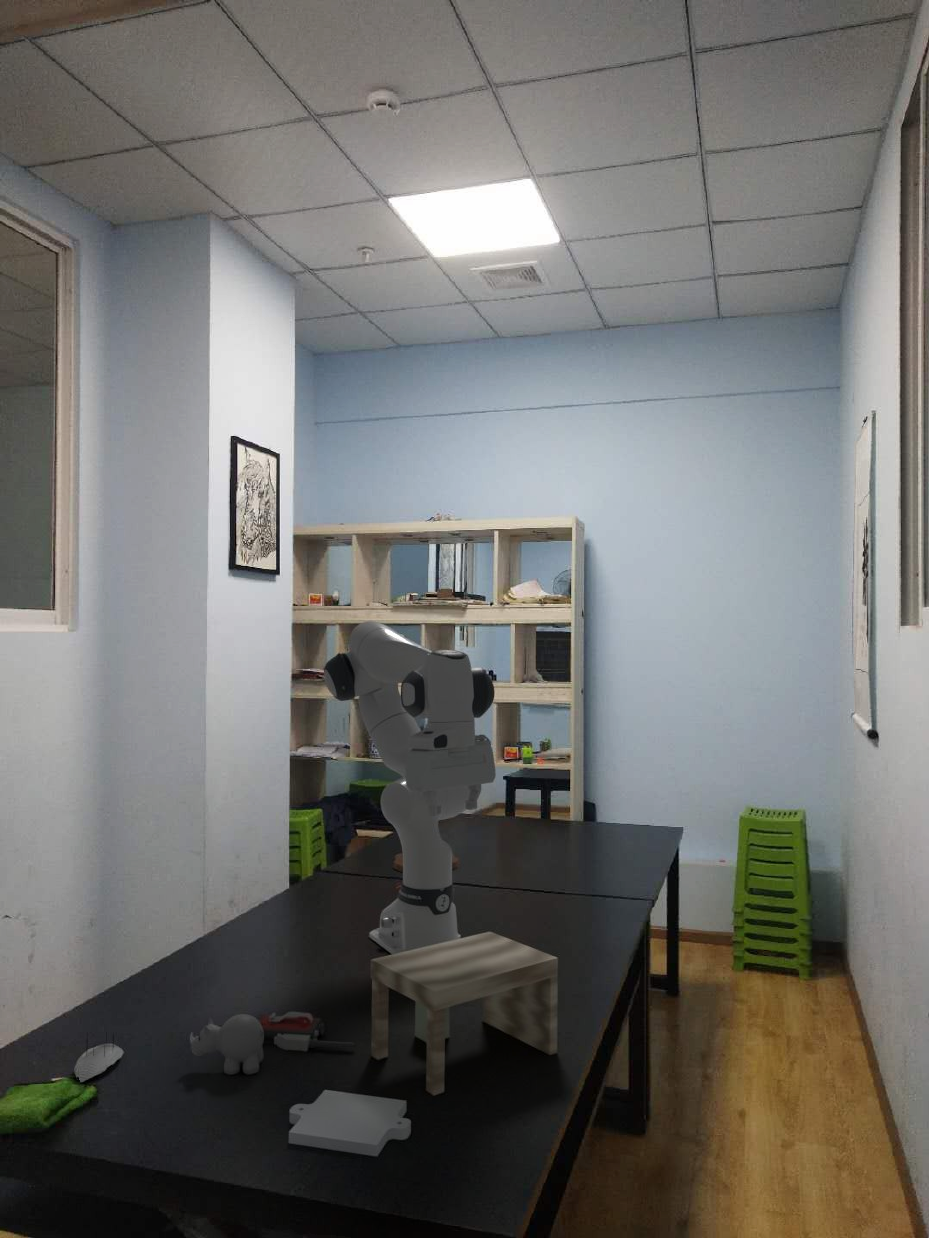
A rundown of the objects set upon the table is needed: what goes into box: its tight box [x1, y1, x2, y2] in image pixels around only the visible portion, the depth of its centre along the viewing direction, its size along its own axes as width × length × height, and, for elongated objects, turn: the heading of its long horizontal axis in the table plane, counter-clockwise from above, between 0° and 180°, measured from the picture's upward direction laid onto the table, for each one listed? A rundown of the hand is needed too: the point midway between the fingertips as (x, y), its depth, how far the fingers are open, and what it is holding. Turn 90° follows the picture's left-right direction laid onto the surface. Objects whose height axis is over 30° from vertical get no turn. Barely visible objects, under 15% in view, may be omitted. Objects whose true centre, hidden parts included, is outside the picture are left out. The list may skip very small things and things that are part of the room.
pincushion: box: [73, 1031, 125, 1083], centre depth 158 cm, size 12×6×6 cm, turn 174°
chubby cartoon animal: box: [189, 1013, 264, 1076], centre depth 159 cm, size 7×12×8 cm, turn 88°
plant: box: [392, 852, 460, 873], centre depth 297 cm, size 20×20×11 cm
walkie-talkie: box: [255, 1011, 356, 1052], centre depth 170 cm, size 9×4×20 cm
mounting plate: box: [288, 1089, 412, 1157], centre depth 140 cm, size 18×13×2 cm
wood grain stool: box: [370, 931, 559, 1096], centre depth 165 cm, size 18×26×16 cm
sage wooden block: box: [414, 1001, 450, 1044], centre depth 172 cm, size 4×4×8 cm
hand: (453, 812), depth 181 cm, fingers open, 8 cm apart
